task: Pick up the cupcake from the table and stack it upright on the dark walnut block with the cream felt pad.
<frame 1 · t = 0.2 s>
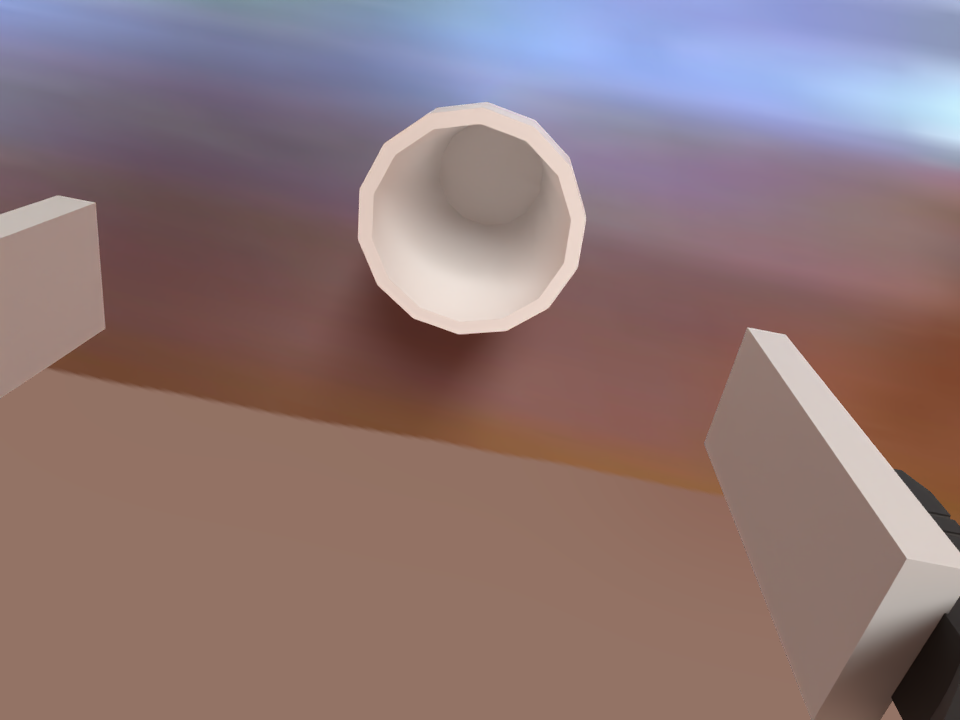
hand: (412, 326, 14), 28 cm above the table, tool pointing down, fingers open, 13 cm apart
foam cup: (492, 171, 40), on the table
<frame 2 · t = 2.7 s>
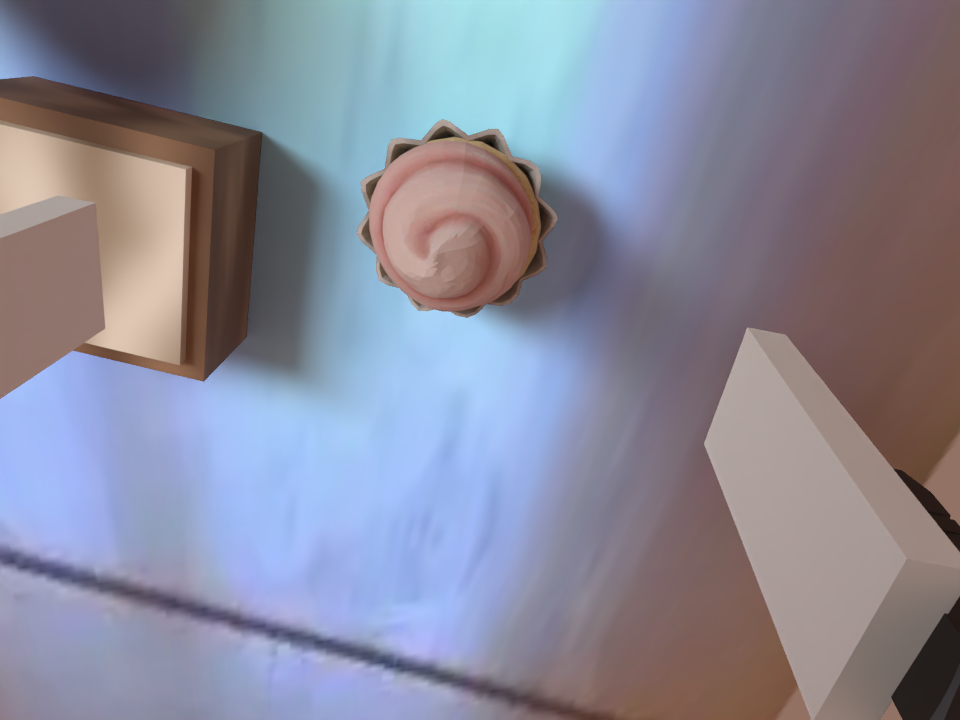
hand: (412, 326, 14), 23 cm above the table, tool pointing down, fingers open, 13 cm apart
walnut base: (147, 216, 38), on the table
cupcake: (464, 200, 37), on the table
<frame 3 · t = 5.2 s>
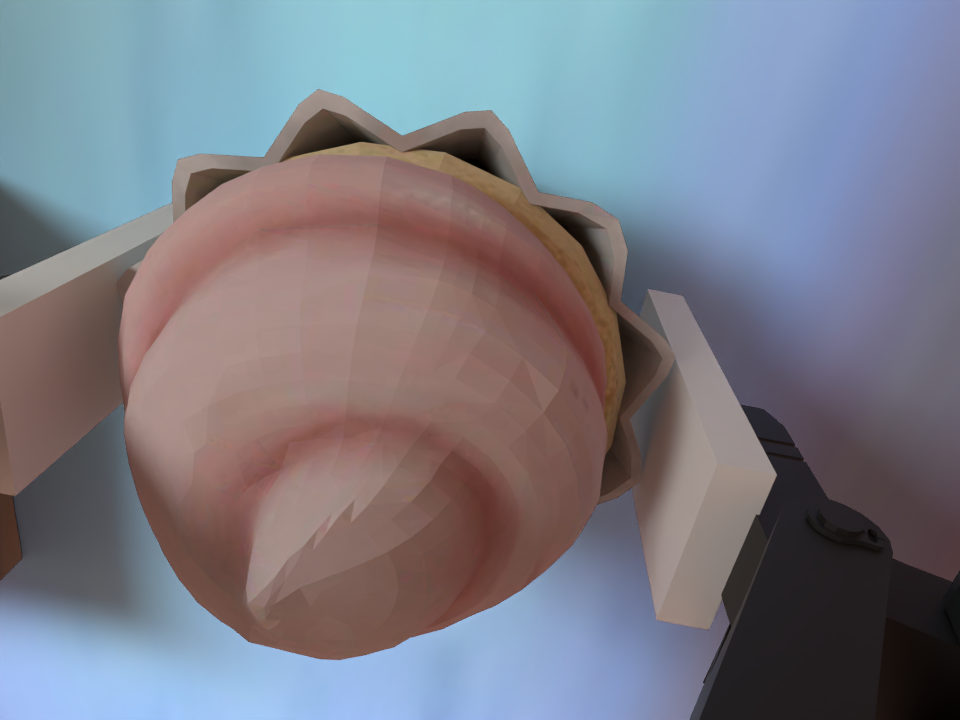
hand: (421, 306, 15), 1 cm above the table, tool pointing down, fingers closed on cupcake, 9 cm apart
cupcake: (428, 286, 16), on the table, touching gripper
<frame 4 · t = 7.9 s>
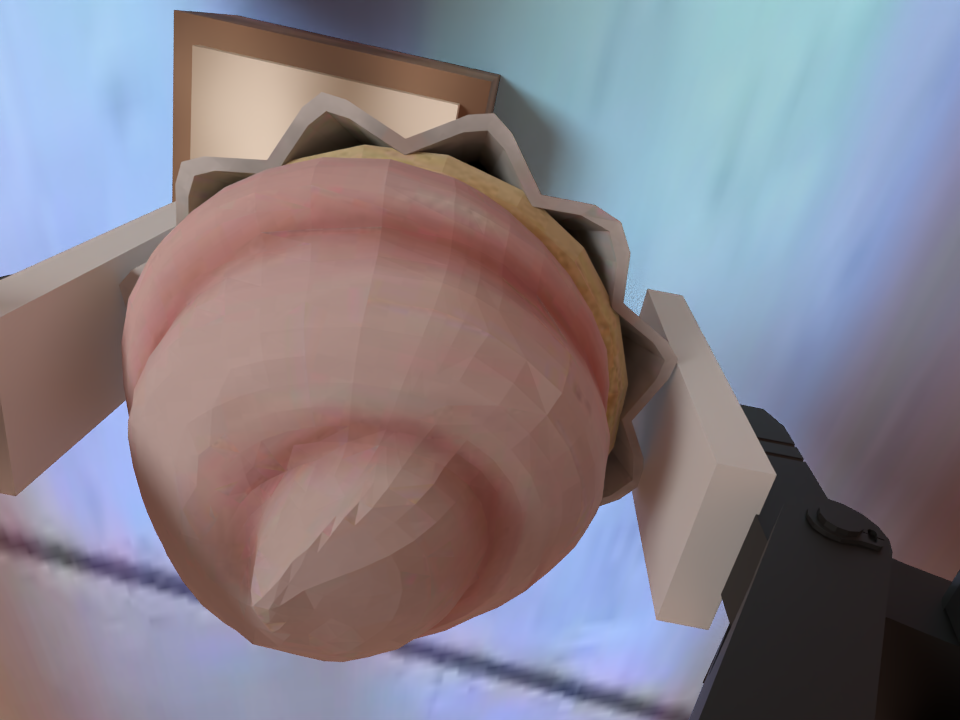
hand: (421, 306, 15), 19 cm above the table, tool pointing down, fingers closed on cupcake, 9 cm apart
walnut base: (352, 179, 33), on the table
cupcake: (430, 287, 16), point 18 cm above the table, touching gripper
when the fingers open (9 cm above the table, at t = 10.7 s): cupcake drops 2 cm, resting on walnut base.
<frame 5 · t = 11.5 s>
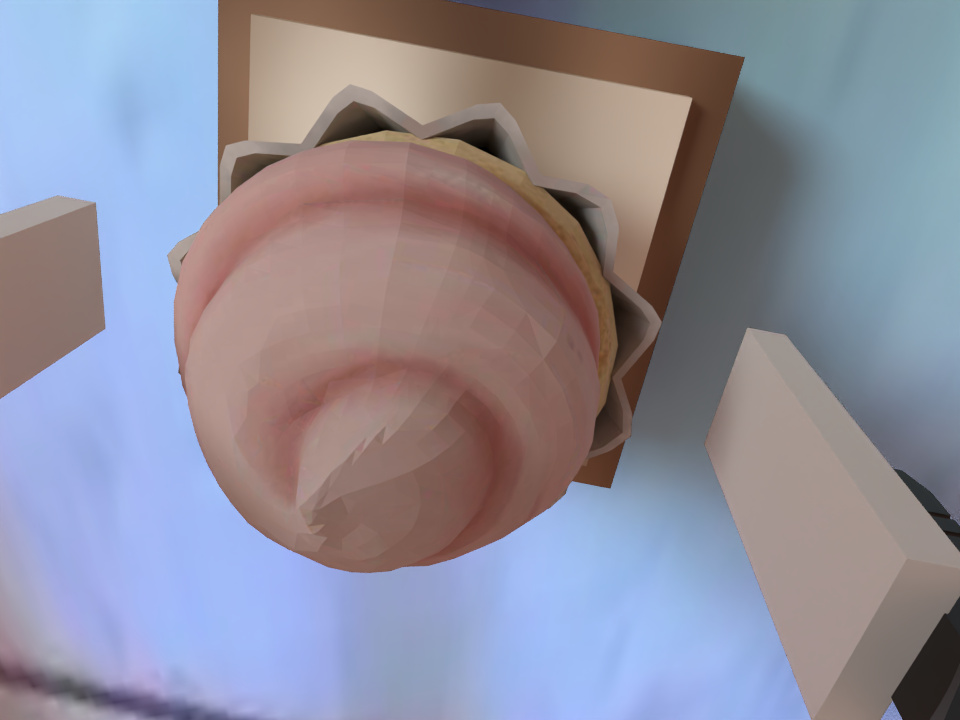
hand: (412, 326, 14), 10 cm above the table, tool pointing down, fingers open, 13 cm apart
walnut base: (465, 210, 23), on the table
cupcake: (440, 265, 18), point 6 cm above the table, touching walnut base
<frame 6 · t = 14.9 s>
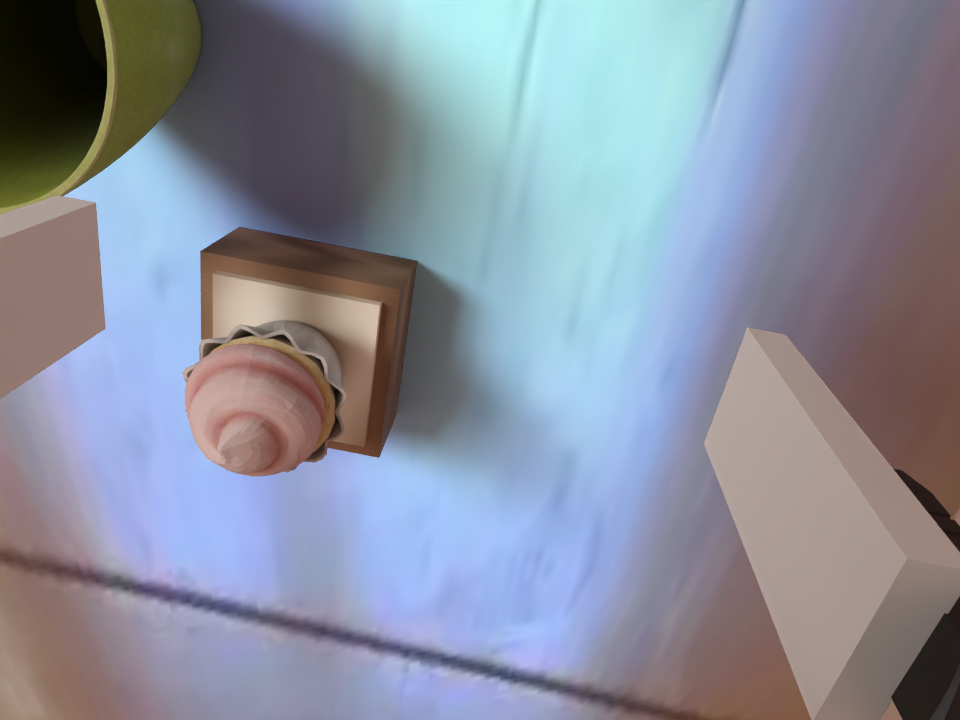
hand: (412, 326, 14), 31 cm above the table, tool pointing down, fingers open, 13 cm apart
flower pot: (145, 28, 41), on the table
walnut base: (321, 325, 48), on the table
cupcake: (293, 363, 43), point 6 cm above the table, touching walnut base
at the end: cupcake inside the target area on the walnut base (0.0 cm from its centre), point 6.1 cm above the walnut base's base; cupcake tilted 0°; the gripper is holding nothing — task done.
